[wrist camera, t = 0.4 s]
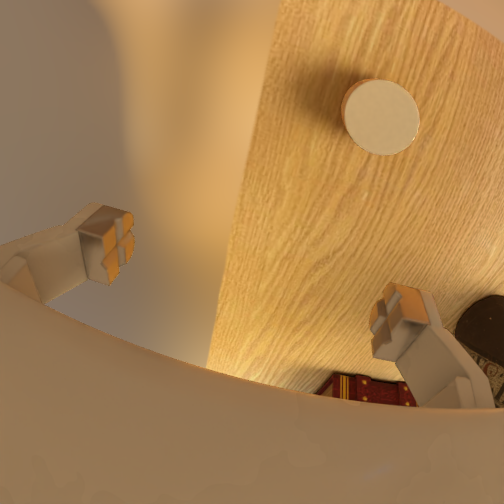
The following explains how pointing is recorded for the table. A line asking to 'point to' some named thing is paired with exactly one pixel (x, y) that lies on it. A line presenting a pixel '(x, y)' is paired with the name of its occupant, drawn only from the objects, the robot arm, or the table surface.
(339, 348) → the table surface
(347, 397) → the decorative book
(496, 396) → the container
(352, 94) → the beige cylinder disc
